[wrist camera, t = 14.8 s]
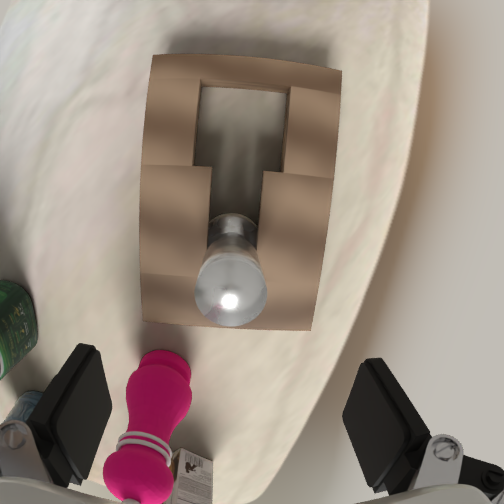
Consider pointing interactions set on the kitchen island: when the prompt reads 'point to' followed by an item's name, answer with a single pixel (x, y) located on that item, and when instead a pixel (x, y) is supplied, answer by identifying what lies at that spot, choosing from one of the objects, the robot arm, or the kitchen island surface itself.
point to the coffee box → (190, 479)
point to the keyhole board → (272, 190)
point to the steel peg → (231, 272)
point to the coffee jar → (15, 325)
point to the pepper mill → (149, 430)
